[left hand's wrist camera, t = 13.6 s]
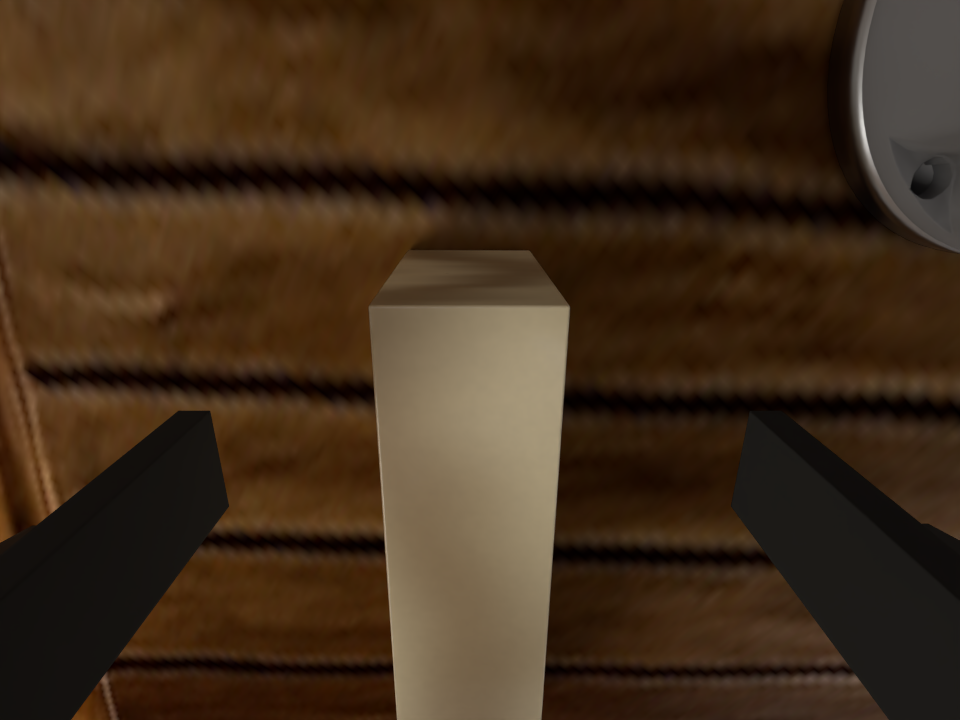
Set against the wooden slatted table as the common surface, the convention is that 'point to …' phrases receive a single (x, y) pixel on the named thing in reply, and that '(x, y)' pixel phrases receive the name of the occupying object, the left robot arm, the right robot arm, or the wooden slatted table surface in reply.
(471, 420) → the birch rail
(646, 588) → the wooden slatted table surface
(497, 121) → the wooden slatted table surface
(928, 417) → the wooden slatted table surface
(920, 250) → the wooden slatted table surface
